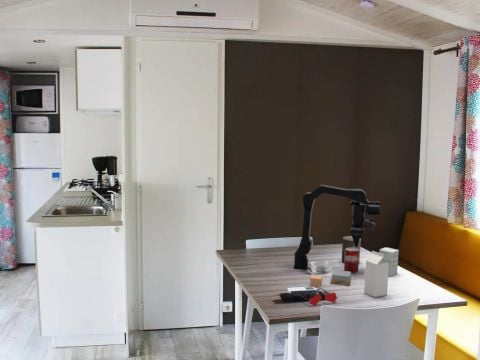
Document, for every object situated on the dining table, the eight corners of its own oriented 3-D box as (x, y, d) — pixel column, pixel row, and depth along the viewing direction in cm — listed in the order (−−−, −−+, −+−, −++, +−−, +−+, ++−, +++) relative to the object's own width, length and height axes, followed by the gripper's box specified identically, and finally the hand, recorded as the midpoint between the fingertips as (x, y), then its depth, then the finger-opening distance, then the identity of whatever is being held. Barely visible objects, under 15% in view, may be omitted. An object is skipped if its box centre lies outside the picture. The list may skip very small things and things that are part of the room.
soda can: (358, 274, 251) (359, 251, 250) (343, 273, 253) (344, 250, 251) (358, 270, 258) (359, 247, 257) (343, 269, 260) (344, 246, 258)
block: (310, 286, 233) (310, 278, 232) (311, 283, 237) (311, 274, 237) (320, 287, 231) (321, 279, 231) (321, 284, 236) (322, 276, 236)
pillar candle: (339, 264, 269) (341, 236, 267) (343, 259, 278) (344, 233, 276) (358, 266, 266) (359, 239, 264) (360, 261, 275) (362, 235, 273)
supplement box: (377, 273, 254) (378, 249, 252) (384, 270, 259) (385, 246, 257) (390, 276, 249) (392, 252, 247) (397, 273, 254) (399, 249, 252)
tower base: (330, 285, 236) (330, 280, 236) (332, 279, 245) (332, 274, 244) (350, 287, 234) (350, 282, 234) (350, 281, 242) (351, 276, 242)
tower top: (332, 279, 236) (332, 274, 236) (333, 275, 244) (333, 270, 244) (349, 281, 234) (349, 276, 234) (350, 276, 242) (350, 271, 241)
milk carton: (374, 297, 219) (377, 255, 217) (363, 292, 225) (366, 251, 223) (387, 295, 222) (389, 253, 220) (375, 290, 228) (378, 249, 226)
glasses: (309, 307, 207) (310, 296, 206) (290, 294, 222) (290, 284, 221) (338, 303, 212) (338, 292, 212) (317, 291, 227) (317, 280, 227)
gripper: (375, 218, 240) (373, 250, 242) (374, 212, 258) (373, 241, 260) (351, 217, 243) (349, 248, 245) (352, 210, 261) (351, 239, 263)
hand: (356, 244), depth 253 cm, fingers open, 9 cm apart
